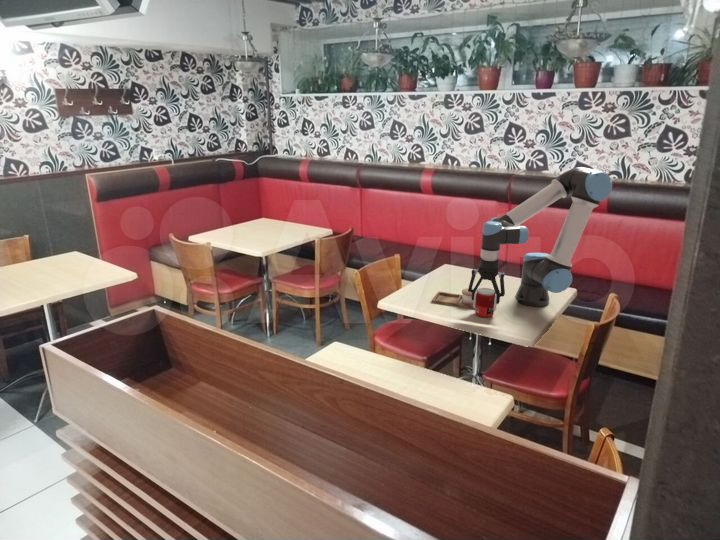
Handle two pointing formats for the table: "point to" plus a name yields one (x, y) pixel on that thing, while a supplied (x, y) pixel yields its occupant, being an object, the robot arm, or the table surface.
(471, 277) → the robot arm
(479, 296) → the canned food
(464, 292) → the sugar pot
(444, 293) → the wooden tray
